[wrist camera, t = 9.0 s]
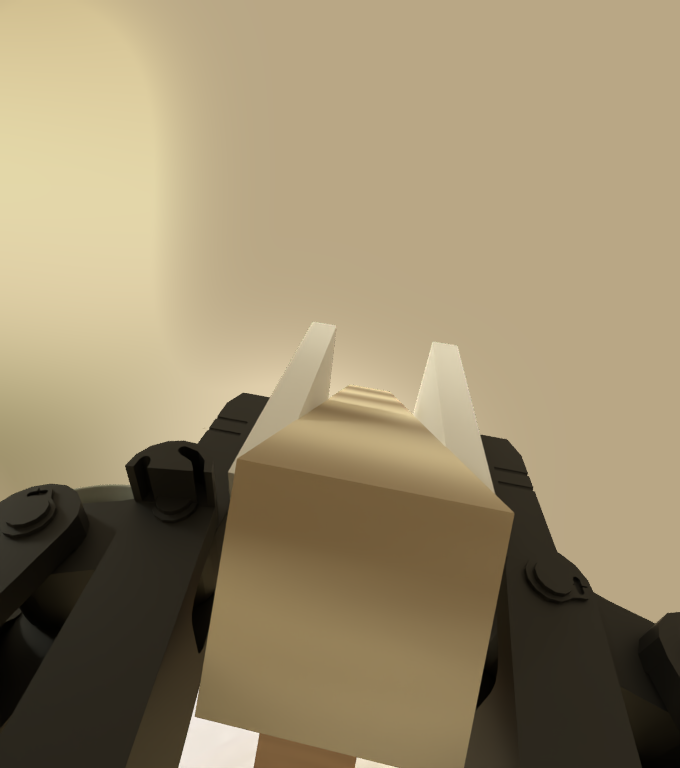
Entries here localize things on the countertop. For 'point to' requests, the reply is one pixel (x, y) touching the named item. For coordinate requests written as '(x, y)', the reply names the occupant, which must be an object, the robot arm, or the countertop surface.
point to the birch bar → (356, 587)
